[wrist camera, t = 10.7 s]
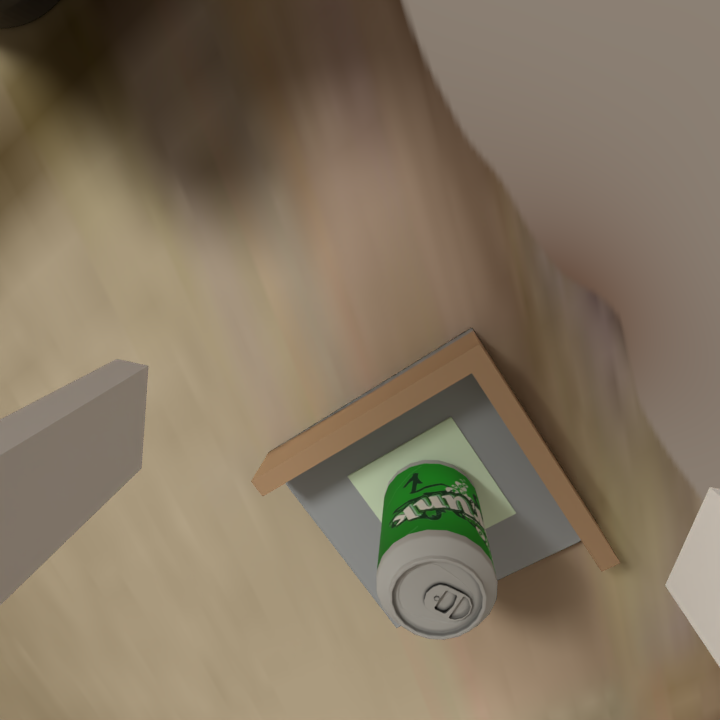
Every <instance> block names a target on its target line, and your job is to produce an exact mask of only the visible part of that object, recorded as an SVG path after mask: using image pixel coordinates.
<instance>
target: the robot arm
mask: <svg viewBox="0 0 720 720" xmlns="http://www.w3.org/2000/svg"><path fill="white" fill-rule="evenodd" d="M58 1H59V0H0V28H9V27H15V26H19V25H23V24H26V23H28V22H31V21H33V20H35V19H37V18H38V17H40V16H42V15H43V14H45V13H46V12H47V11H49V10H50V9H51V8H52V7H53V6H54V5H55V4H56V3H57V2H58ZM147 379H148V366H147V365H143V364H138V363H133V362H129V361H124V360H120V359H116V360H114V361H112V362H110V363H108V364H106V365H104V366H103V367H101V368H99V369H97V370H95V371H93V372H91V373H89V374H87V375H85V376H83V377H81V378H79V379H77V380H76V381H74V382H72V383H70V384H68V385H66V386H64V387H62V388H60V389H58V390H56V391H54V392H52V393H50V394H48V395H47V396H45V397H43V398H41V399H39V400H37V401H35V402H33V403H31V404H29V405H27V406H25V407H23V408H21V409H20V410H18V411H16V412H14V413H12V414H10V415H8V416H6V417H4V418H2V419H0V605H1V604H2V603H3V602H4V601H5V600H6V599H7V598H8V597H9V596H10V595H11V594H12V593H13V592H14V591H15V590H16V589H17V588H18V587H19V586H20V585H22V584H23V583H24V582H25V581H26V580H27V579H28V578H29V577H30V576H31V575H32V574H33V573H34V572H35V571H36V570H37V569H38V568H39V567H40V566H41V565H42V564H43V563H44V562H45V561H46V560H47V559H48V558H49V557H50V556H51V555H52V554H54V553H55V552H56V551H57V550H58V549H59V548H60V547H61V546H62V545H63V544H64V543H65V542H66V541H67V540H68V539H69V538H70V537H71V536H72V535H73V534H74V533H75V532H76V531H77V530H78V529H79V528H80V527H81V526H82V525H83V524H84V523H86V522H87V521H88V520H89V519H90V518H91V517H92V516H93V515H94V514H95V513H96V512H97V511H98V510H99V509H100V508H101V507H102V506H103V505H104V504H105V503H106V502H107V501H108V500H109V499H110V498H111V497H112V496H113V495H114V494H115V493H116V492H118V491H119V490H120V489H121V488H122V487H123V486H124V485H125V484H126V483H127V482H128V481H129V480H130V479H131V478H132V477H133V476H134V475H135V474H136V473H137V472H138V471H139V470H140V469H141V467H142V453H143V438H144V423H145V409H146V394H147ZM665 586H666V588H667V589H668V591H669V592H670V594H671V595H672V597H673V598H674V600H675V601H676V603H677V604H678V606H679V607H680V609H681V610H682V612H683V613H684V615H685V616H686V618H687V619H688V621H689V622H690V624H691V625H692V627H693V628H694V630H695V631H696V633H697V634H698V636H699V637H700V639H701V640H702V642H703V643H704V645H705V646H706V648H707V649H708V651H709V652H710V654H711V655H712V657H713V658H714V660H715V661H716V663H717V664H718V666H719V667H720V489H717V488H712V487H710V488H709V490H708V492H707V494H706V496H705V499H704V501H703V503H702V505H701V507H700V510H699V512H698V514H697V516H696V519H695V521H694V523H693V525H692V527H691V530H690V532H689V534H688V536H687V538H686V541H685V543H684V545H683V547H682V549H681V552H680V554H679V556H678V558H677V560H676V563H675V565H674V567H673V569H672V571H671V574H670V576H669V578H668V580H667V582H666V585H665Z"/></svg>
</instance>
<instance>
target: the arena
mask: <svg viewBox="0 0 720 720" xmlns="http://www.w3.org/2000/svg"><path fill="white" fill-rule="evenodd" d="M449 417H452V418H453V420H454V421H455V423H456V424H457V426H458V427H459V429H460V430H461V432H462V433H463V435H464V436H465V438H466V439H467V441H468V442H469V444H470V445H471V447H472V448H473V450H474V451H475V452H476V454H477V455H478V457H479V458H480V460H481V461H482V463H483V464H484V466H485V467H486V469H487V470H488V472H489V473H490V475H491V476H492V478H493V479H494V481H495V482H496V484H497V485H498V487H499V488H500V490H501V491H502V493H503V494H504V495H505V497H506V498H507V500H508V501H509V503H510V504H511V506H512V507H513V509H514V510H515V512H516V514H514V515H512V516H510V517H508V518H506V519H504V520H502V521H501V522H499V523H497V524H495V525H493V526H491V527H489V528H487V529H486V534H487V538H488V542H489V547H490V551H491V555H492V560H493V564H494V568H495V573H496V577H497V580H499V579H501V578H503V577H505V576H508V575H510V574H512V573H514V572H516V571H518V570H520V569H522V568H524V567H527V566H529V565H531V564H533V563H535V562H537V561H539V560H541V559H544V558H546V557H548V556H550V555H552V554H554V553H556V552H558V551H560V550H563V549H565V548H567V547H569V546H571V545H573V544H575V543H577V542H579V541H582V542H583V544H584V545H585V547H586V548H587V550H588V552H589V553H590V555H591V556H592V558H593V559H594V561H595V562H596V564H597V565H598V567H599V568H600V570H601V571H604V570H606V569H609V568H611V567H613V566H615V565H617V564H620V561H619V560H618V558H617V556H616V555H615V553H614V551H613V549H612V548H611V546H610V544H609V543H608V541H607V539H606V538H605V536H604V534H603V532H602V531H601V529H600V527H599V526H598V524H597V522H596V521H595V519H594V518H593V516H592V514H591V513H590V511H589V510H588V508H587V507H586V505H585V504H584V502H583V500H582V499H581V497H580V496H579V494H578V493H577V491H576V490H575V488H574V486H573V485H572V483H571V482H570V480H569V479H568V477H567V475H566V474H565V472H564V471H563V469H562V468H561V466H560V465H559V463H558V461H557V460H556V458H555V457H554V455H553V454H552V452H551V450H550V449H549V447H548V446H547V444H546V443H545V441H544V440H543V438H542V436H541V435H540V433H539V432H538V430H537V429H536V427H535V426H534V424H533V422H532V421H531V419H530V418H529V416H528V415H527V413H526V411H525V410H524V408H523V407H522V405H521V404H520V402H519V401H518V399H517V397H516V396H515V394H514V393H513V391H512V390H511V388H510V387H509V385H508V383H507V382H506V380H505V379H504V377H503V376H502V374H501V372H500V371H499V369H498V368H497V366H496V365H495V363H494V362H493V360H492V358H491V357H490V355H489V354H488V352H487V351H486V349H485V347H484V346H483V344H482V343H481V341H480V340H479V338H478V337H477V335H476V333H475V332H474V330H473V329H472V328H470V329H469V330H467V331H466V332H464V333H462V334H461V335H459V336H457V337H456V338H454V339H452V340H451V341H449V342H448V343H446V344H444V345H443V346H441V347H439V348H438V349H436V350H435V351H433V352H431V353H430V354H428V355H426V356H425V357H423V358H422V359H420V360H418V361H417V362H415V363H413V364H412V365H410V366H408V367H407V368H405V369H404V370H402V371H400V372H399V373H397V374H395V375H394V376H392V377H391V378H389V379H387V380H386V381H384V382H382V383H381V384H379V385H377V386H376V387H374V388H373V389H371V390H369V391H368V392H366V393H364V394H363V395H361V396H360V397H358V398H356V399H355V400H353V401H351V402H350V403H348V404H347V405H345V406H343V407H342V408H340V409H338V410H337V411H335V412H333V413H332V414H330V415H329V416H327V417H325V418H324V419H322V420H320V421H319V422H317V423H316V424H314V425H312V426H311V427H309V428H307V429H306V430H304V431H303V432H301V433H299V434H298V435H296V436H294V437H293V438H291V439H289V440H288V441H286V442H285V443H283V444H281V445H280V446H278V447H276V448H275V449H273V450H272V451H270V452H269V453H268V454H267V456H266V458H265V459H264V461H263V463H262V464H261V466H260V468H259V469H258V471H257V473H256V474H255V476H254V478H253V479H252V481H251V482H252V483H253V485H254V486H255V487H256V488H257V490H258V491H259V492H260V493H261V495H262V496H264V495H266V494H268V493H269V492H271V491H273V490H274V489H276V488H278V487H280V486H281V485H283V484H285V483H286V485H287V486H288V487H289V489H290V490H291V491H292V493H293V494H294V495H295V496H296V498H297V499H298V500H299V502H300V503H301V504H302V506H303V507H304V508H305V509H306V511H307V512H308V513H309V515H310V516H311V517H312V519H313V520H314V521H315V523H316V524H317V525H318V526H319V528H320V529H321V530H322V532H323V533H324V534H325V536H326V537H327V538H328V539H329V541H330V542H331V543H332V545H333V546H334V547H335V549H336V550H337V551H338V552H339V554H340V555H341V556H342V558H343V559H344V560H345V562H346V563H347V564H348V565H349V567H350V568H351V569H352V571H353V572H354V573H355V575H356V576H357V577H358V579H359V580H360V581H361V582H362V584H363V585H364V586H365V588H366V589H367V590H368V592H369V593H370V594H371V595H372V597H373V598H374V599H375V601H376V602H377V603H378V605H379V606H380V607H381V608H382V610H383V611H384V612H385V614H386V615H387V616H388V618H389V619H390V620H391V621H392V623H393V624H394V625H395V627H396V628H398V627H400V626H401V625H399V624H398V623H396V622H395V621H393V619H392V618H391V617H390V616H389V615H388V613H387V612H386V611H385V610H384V609H383V607H382V605H381V602H380V600H379V597H378V594H377V581H376V575H377V565H378V555H379V544H380V534H381V524H382V523H381V521H380V520H379V519H378V517H377V516H376V515H375V513H374V512H373V511H372V509H371V508H370V507H369V505H368V504H367V502H366V501H365V500H364V498H363V497H362V496H361V494H360V493H359V492H358V490H357V489H356V488H355V486H354V485H353V484H352V482H351V481H350V479H349V478H348V477H347V476H348V475H349V474H351V473H353V472H355V471H356V470H358V469H360V468H362V467H363V466H365V465H367V464H369V463H370V462H372V461H374V460H376V459H377V458H379V457H381V456H383V455H384V454H386V453H388V452H390V451H391V450H393V449H395V448H397V447H398V446H400V445H402V444H404V443H405V442H407V441H409V440H411V439H412V438H414V437H416V436H418V435H419V434H421V433H423V432H425V431H426V430H428V429H430V428H432V427H433V426H435V425H437V424H439V423H440V422H442V421H444V420H446V419H447V418H449Z"/></svg>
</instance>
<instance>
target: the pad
mask: <svg viewBox="0 0 720 720" xmlns="http://www.w3.org/2000/svg"><path fill="white" fill-rule="evenodd" d="M422 460H440V461H443V462H446V463H449V464H452V465H454V466H456V467H457V468H459V469H460V470H462V471H463V472H464V473H466V475H467V476H468V477H469V479H470V480H471V481H472V483H473V484H474V486H475V489H476V492H477V495H478V499H479V503H480V508H481V512H482V516H483V521H484V525H485V529H487V528H489V527H491V526H493V525H495V524H497V523H499V522H501V521H502V520H504V519H506V518H508V517H510V516H512V515H514V514H516V512H515V510H514V509H513V507H512V506H511V504H510V503H509V501H508V500H507V498H506V497H505V495H504V494H503V493H502V491H501V490H500V488H499V487H498V485H497V484H496V482H495V481H494V479H493V478H492V476H491V475H490V473H489V472H488V470H487V469H486V467H485V466H484V464H483V463H482V461H481V460H480V458H479V457H478V455H477V454H476V452H475V451H474V450H473V448H472V447H471V445H470V444H469V442H468V441H467V439H466V438H465V436H464V435H463V433H462V432H461V430H460V429H459V427H458V426H457V424H456V423H455V421H454V420H453V418H452V417H449V418H447V419H446V420H444V421H442V422H440V423H439V424H437V425H435V426H433V427H432V428H430V429H428V430H426V431H425V432H423V433H421V434H419V435H418V436H416V437H414V438H412V439H411V440H409V441H407V442H405V443H404V444H402V445H400V446H398V447H397V448H395V449H393V450H391V451H390V452H388V453H386V454H384V455H383V456H381V457H379V458H377V459H376V460H374V461H372V462H370V463H369V464H367V465H365V466H363V467H362V468H360V469H358V470H356V471H355V472H353V473H351V474H349V475H348V476H347V477H348V478H349V479H350V481H351V482H352V484H353V485H354V486H355V488H356V489H357V490H358V492H359V493H360V494H361V496H362V497H363V498H364V500H365V501H366V502H367V504H368V505H369V507H370V508H371V509H372V511H373V512H374V513H375V515H376V516H377V517H378V519H379V520H380V521H381V523H382V514H383V503H384V494H385V491H386V489H387V486H388V483H389V481H390V480H391V479H392V477H393V476H394V475H395V474H396V473H397V471H399V470H400V469H402V468H404V467H405V466H407V465H408V464H410V463H414V462H418V461H422Z"/></svg>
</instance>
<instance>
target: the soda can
mask: <svg viewBox="0 0 720 720" xmlns="http://www.w3.org/2000/svg"><path fill="white" fill-rule="evenodd" d="M376 581H377V594H378V597H379V600H380V602H381V605H382V607H383V609H384V610H385V611H386V612H387V613H388V615H389V616H390V617H391V618H392V619H393V621H395V622H396V623H398V624H399V625H401V626H402V627H404V628H405V629H407V630H409V631H410V632H412V633H413V634H415V635H419V636H422V637H425V638H428V639H442V640H444V639H449V638H454V637H458V636H460V635H462V634H464V633H466V632H468V631H470V630H471V629H472V628H474V627H476V626H478V625H479V624H480V623H481V622H482V621H483V620H484V619H485V618H486V617H487V616H488V615H489V614H490V612H491V610H492V608H493V606H494V603H495V601H496V599H497V584H498V581H497V577H496V573H495V568H494V564H493V560H492V555H491V551H490V547H489V542H488V538H487V534H486V529H485V525H484V521H483V516H482V512H481V508H480V503H479V499H478V495H477V492H476V489H475V486H474V484H473V483H472V481H471V480H470V479H469V477H468V476H467V475H466V473H464V472H463V471H462V470H460V469H459V468H457V467H456V466H454V465H452V464H449V463H446V462H443V461H440V460H422V461H418V462H414V463H410V464H408V465H407V466H405V467H404V468H402V469H400V470H399V471H397V473H396V474H395V475H394V476H393V477H392V479H391V480H390V481H389V483H388V486H387V489H386V491H385V494H384V503H383V514H382V524H381V534H380V544H379V555H378V565H377V575H376Z"/></svg>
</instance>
